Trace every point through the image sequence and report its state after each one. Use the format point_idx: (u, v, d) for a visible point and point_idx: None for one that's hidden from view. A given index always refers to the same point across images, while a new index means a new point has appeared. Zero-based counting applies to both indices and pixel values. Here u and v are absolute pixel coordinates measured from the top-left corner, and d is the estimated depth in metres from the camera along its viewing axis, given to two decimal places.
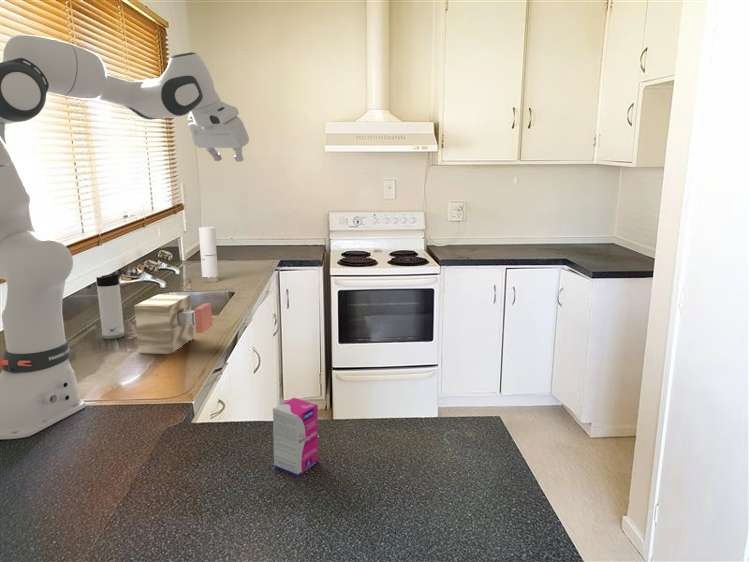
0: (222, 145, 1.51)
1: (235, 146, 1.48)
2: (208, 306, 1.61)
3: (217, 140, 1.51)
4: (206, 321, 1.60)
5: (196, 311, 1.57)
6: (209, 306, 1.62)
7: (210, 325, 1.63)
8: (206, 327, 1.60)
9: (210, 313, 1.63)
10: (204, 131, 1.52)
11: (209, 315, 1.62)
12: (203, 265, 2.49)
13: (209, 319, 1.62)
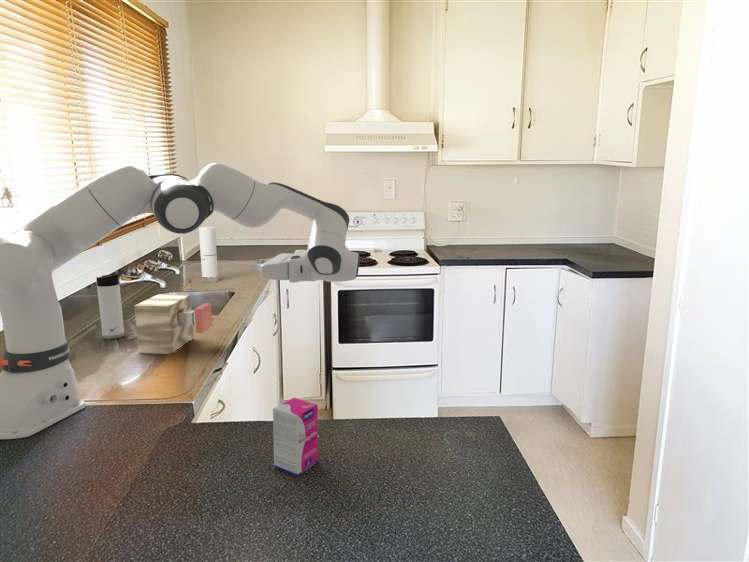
0: (270, 260, 1.52)
1: (263, 263, 1.47)
2: (208, 306, 1.61)
3: (276, 259, 1.53)
4: (206, 321, 1.60)
5: (196, 311, 1.57)
6: (209, 306, 1.62)
7: (210, 325, 1.63)
8: (206, 327, 1.60)
9: (210, 313, 1.63)
10: None
11: (209, 315, 1.62)
12: (203, 265, 2.49)
13: (209, 319, 1.62)
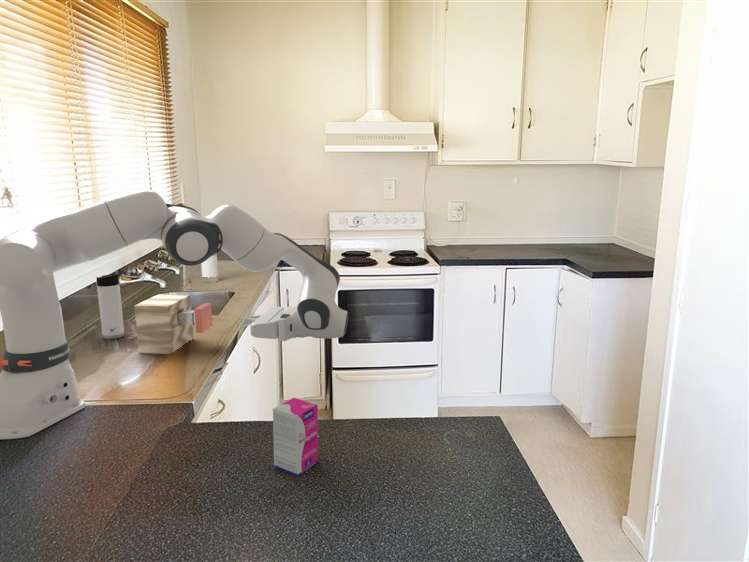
0: (261, 317, 1.56)
1: (254, 322, 1.51)
2: (208, 306, 1.61)
3: (267, 316, 1.57)
4: (206, 321, 1.60)
5: (196, 311, 1.57)
6: (209, 306, 1.62)
7: (210, 325, 1.63)
8: (206, 327, 1.60)
9: (210, 313, 1.63)
10: None
11: (209, 315, 1.62)
12: (203, 265, 2.49)
13: (209, 319, 1.62)
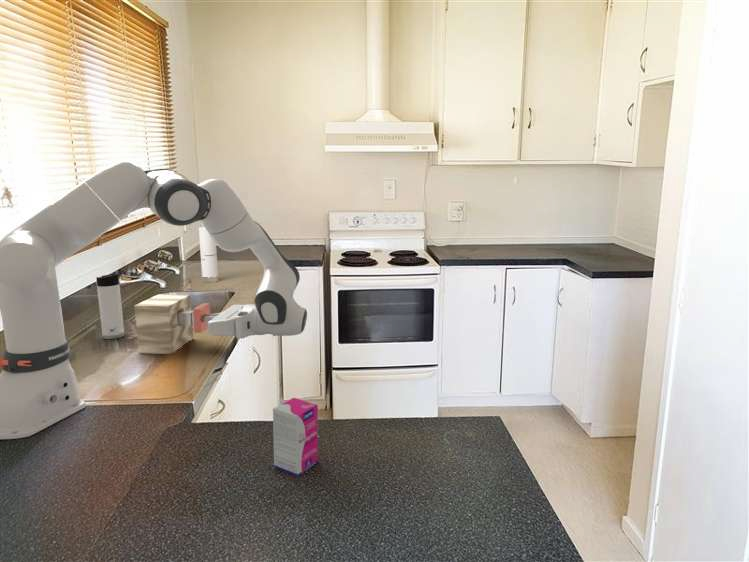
0: (220, 314, 1.57)
1: (211, 319, 1.52)
2: (207, 306, 1.61)
3: (226, 313, 1.58)
4: None
5: (194, 311, 1.57)
6: (208, 306, 1.62)
7: None
8: (205, 327, 1.60)
9: (209, 313, 1.63)
10: None
11: None
12: (203, 265, 2.49)
13: None
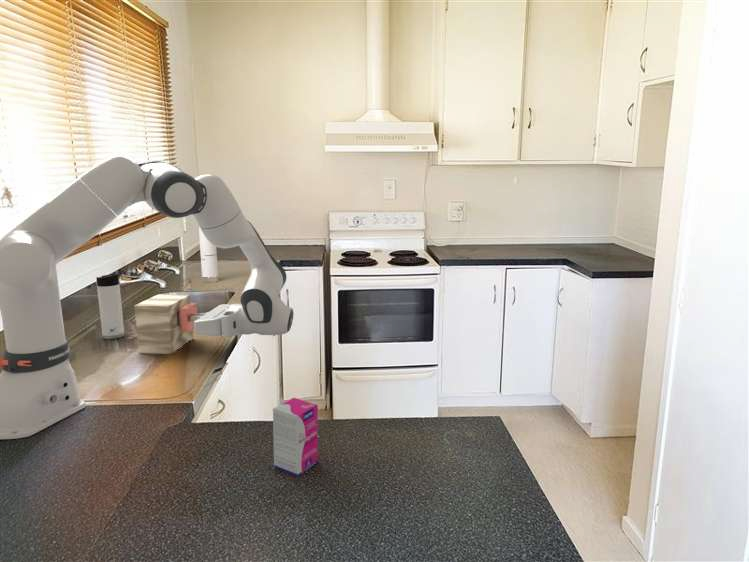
0: (206, 314, 1.57)
1: (197, 319, 1.52)
2: (193, 306, 1.62)
3: (213, 313, 1.58)
4: None
5: (181, 311, 1.57)
6: (194, 306, 1.62)
7: None
8: (191, 327, 1.61)
9: (196, 313, 1.63)
10: None
11: None
12: (203, 265, 2.49)
13: None
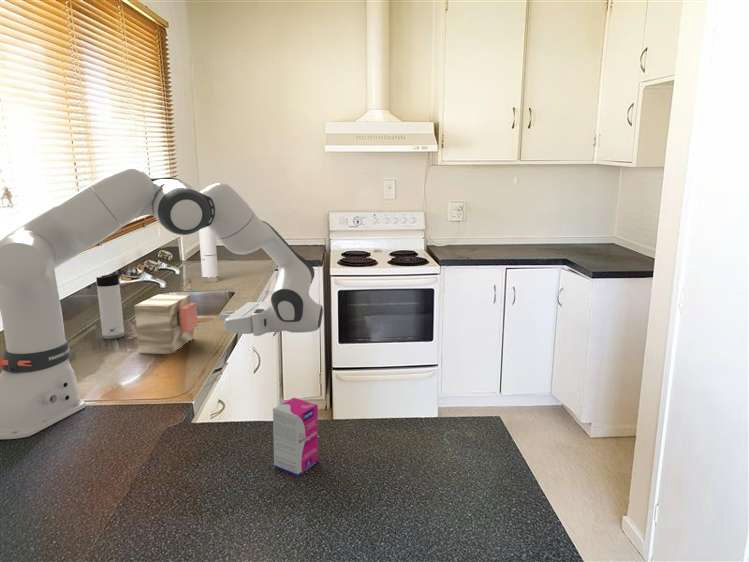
0: (236, 312, 1.57)
1: (228, 317, 1.52)
2: (193, 306, 1.62)
3: (242, 311, 1.58)
4: (191, 321, 1.61)
5: (181, 311, 1.57)
6: (194, 306, 1.62)
7: (195, 325, 1.63)
8: (191, 327, 1.61)
9: (195, 313, 1.63)
10: None
11: (194, 315, 1.63)
12: (203, 265, 2.49)
13: (194, 319, 1.62)
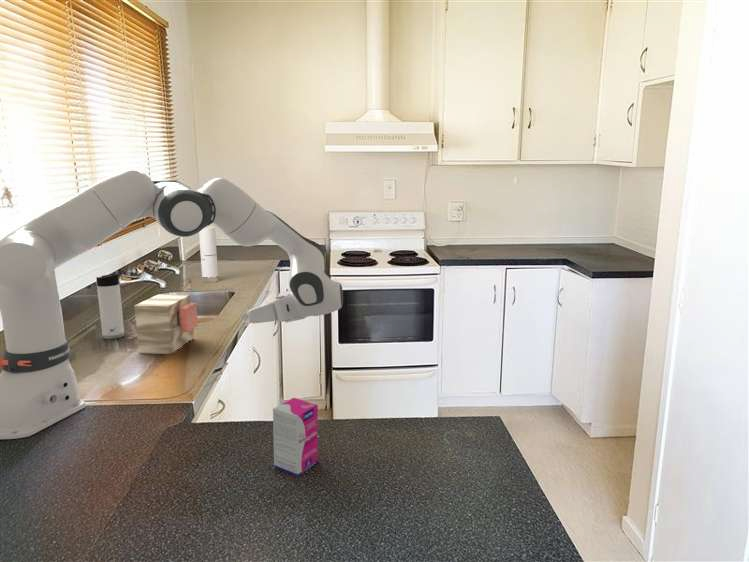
0: None
1: None
2: (193, 306, 1.62)
3: None
4: (191, 321, 1.61)
5: (181, 311, 1.57)
6: (194, 306, 1.62)
7: (195, 325, 1.63)
8: (191, 327, 1.61)
9: (195, 313, 1.63)
10: None
11: (194, 315, 1.63)
12: (203, 265, 2.49)
13: (194, 319, 1.62)
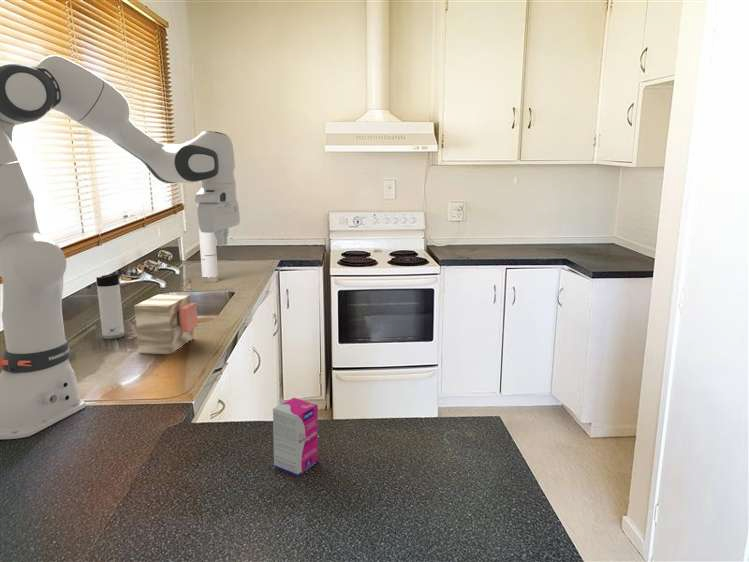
0: None
1: None
2: (193, 306, 1.62)
3: None
4: (191, 321, 1.61)
5: (181, 311, 1.57)
6: (194, 306, 1.62)
7: (195, 325, 1.63)
8: (191, 327, 1.61)
9: (195, 313, 1.63)
10: None
11: (194, 315, 1.63)
12: (203, 265, 2.49)
13: (194, 319, 1.62)
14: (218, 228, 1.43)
